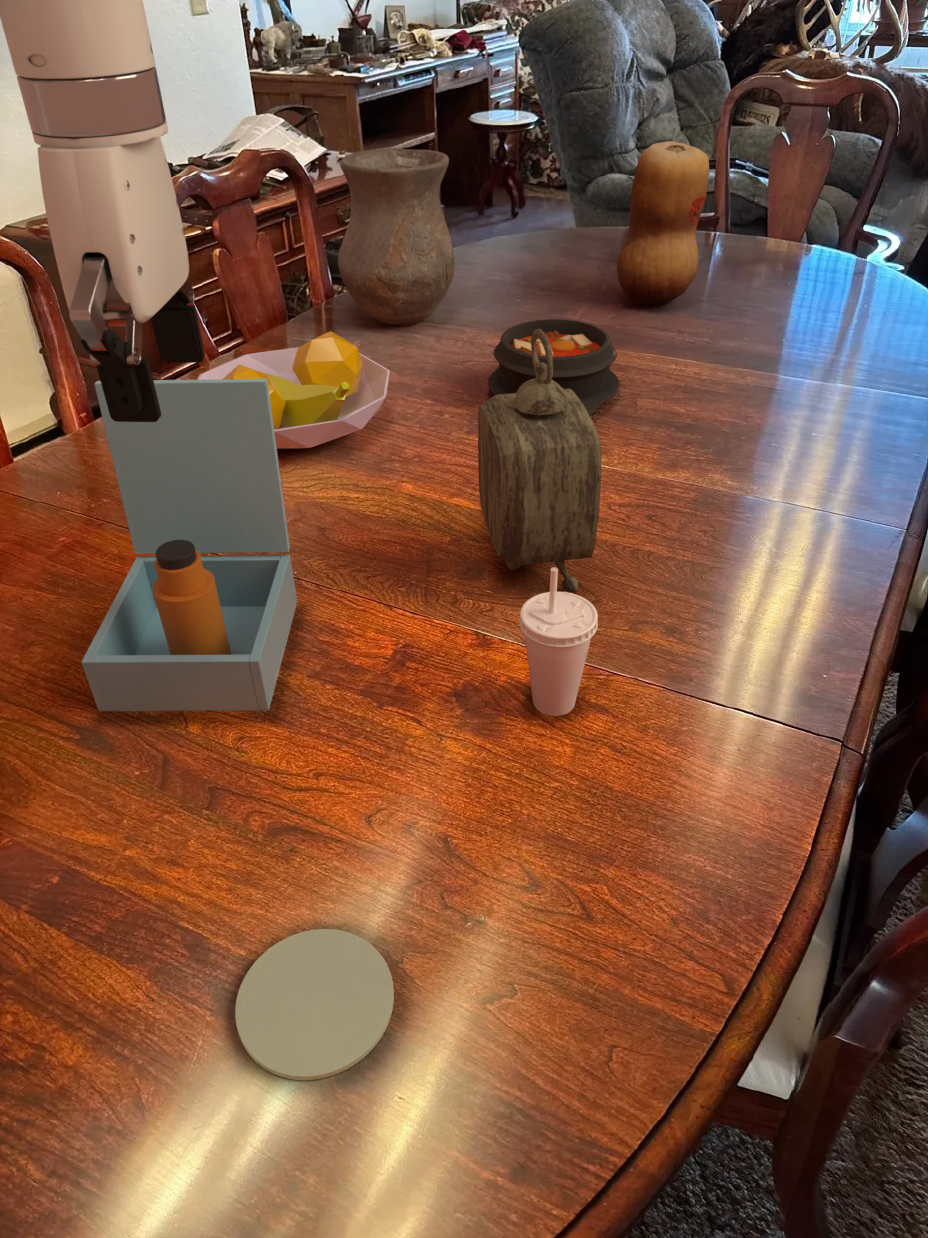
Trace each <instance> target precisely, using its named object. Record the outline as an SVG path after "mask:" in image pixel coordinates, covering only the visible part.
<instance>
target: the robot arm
mask: <svg viewBox="0 0 928 1238" xmlns="http://www.w3.org/2000/svg"><path fill="white" fill-rule="evenodd" d="M0 22H1V26H2V29H3V32H4V36H5V40H6V44H7V48H8V51H9V55H10V58H11V63H12V66H13V69H14V73H15V75H16V80H17V84H18V87H19V91H20V95H21V98H22V103H23V105H24V110H25V113H26V116H27V120H28V124H29V127H30V130H31V134H32V137H33V142H34V143H35V144H36V145H38V147H37V158H38V168H39V177H40V184H41V191H42V198H43V203H44V204H43V205H44V210H45V215H46V221H47V226H48V230H49V234H50V239H51V244H52V248H53V253H54V257H55V261H56V265H57V270H58V274H59V278H60V282H61V286H62V290H63V294H64V298H65V301H66V305H67V308H68V313H69V319H70V321H71V324H72V325H73V327H74V328H75V330H76V331H77V333H78V335H79V336H80V338H81V339H80V343H81V345H82V346H83V349H84V350H85V351H86V352H87V353H88V354H89V360H90V362H91V364H92V365H93V366H95V367H96V371H97V374H98V377H99V381H101V385H102V388H103V392H104V396H105V399H106V403H107V407H108V410H109V414H110V417H111V419H112V420H114V421H116V422H157V421H158V420H159V418H160V417H161V410H160V406H159V402H158V398H157V393H156V389H155V385H154V381H153V380H154V376H153V373H152V369H151V365H150V360H149V359H148V358H146V359H145V358H142V350H143V324H144V323H146V322H148V321H149V320H150V321H151V325H152V329H153V334H154V338H155V342H156V348H157V352H158V355H159V359H160V360H161V361H162V362H163V363H173V364H175V363H176V364H177V363H178V364H179V363H181V364H182V363H183V364H184V363H187V364H189V363H190V364H192V363H195V364H196V363H197V364H200V363H202V362H203V361H204V360H205V358H206V353H205V348H204V343H203V338H202V334H201V328H200V323H199V318H198V314H197V313H198V312H197V309H196V305H193V304H194V303H195V295H196V294H195V289H194V287H193V286H192V284H191V282H190V281H189V277H190V271H191V267H190V266H191V263H190V261H189V253H188V246H187V241H186V233H185V229H184V225H183V220H182V217H181V212H180V208H179V203H178V198H177V195H176V191H175V186H174V183H173V178H172V174H171V170H170V167H169V163H168V160H167V156H166V153H165V148H164V145H163V142H162V139H161V137H164V136H165V135H167V134H168V133H169V127H168V123H167V118H166V112H165V107H164V102H163V97H162V91H161V86H160V80H159V77H158V71H157V67H156V60H155V55H154V51H153V45H152V40H151V35H150V30H149V24H148V20H147V15H146V10H145V5H144V0H0ZM107 307H108V308H128V310H127V309H125V310H124V309H123V310H122V309H119V310H118V309H116V310H115V309H111V310H109V309H107ZM109 327H125V340H124V339H123V338H122V337H121V336H120V335H119V334H118V333H117V332H116V331H115V330H113V329H109Z"/></svg>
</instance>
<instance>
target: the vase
mask: <svg viewBox="0 0 928 1238" xmlns="http://www.w3.org/2000/svg"><path fill="white" fill-rule="evenodd" d="M449 163H450V158H449V156H448V155H447V154H446V153H445V152H440V151H437V150H430V149H411V148H409V149H406V148H399V147H398V148H394V147H380V148H373V149H365V150H358V151H354V152H351V153H348V154H346V155H345V156H343V157H342V159H341V160H340V161H339V165H340V169H341V171H342V173H343V175H344V177H345V180H346V182H347V186H348V188H349V193H350V201H351V203H350V204H351V209H350V217H349V221H348V225H347V228H346V231H345V234H344V236H343V239H342V243H341V245H340V248H339V251H338V255H337V267H338V272H339V274H340V278H341V281H342V283H343V285H344V287H345V289H346V291H347V292H348V294H349V295H350V297H351V298H352V299H353V301H355V303H356V304H357V306H359V307H360V309H362V310H363V311H364V312H365V313H366V314H367V315H369V316H370V317H371V318H373V319H374V320H375V321H377V322H380V323H382V324H385V325H390V326H409V325H414V324H417V323H419V322H421V321H424V320H425V319H427V318H428V317H429V316H430V315H431V314H432V313H434V312H435V310H437V308H438V307H439V305H440V304H441V302H442V301H443V300H444V299H445V297H446V296H447V294H448V293H449V290H450V287H451V285H452V282H453V279H454V275H455V269H456V268H455V267H456V261H455V259H456V258H455V251H454V246H453V241H452V238H451V234H450V231H449V228H448V224H447V222H446V219H445V215H444V211H443V208H442V203H441V199H440V190H441V184H442V182H443V179H444V177H445V174H446V172H447V170H448V167H449Z"/></svg>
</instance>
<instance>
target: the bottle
mask: <svg viewBox="0 0 928 1238" xmlns="http://www.w3.org/2000/svg"><path fill="white" fill-rule="evenodd" d="M155 556H156V557H157V558H156V560H155V568H156V572H157V575H158V579H157V580H156V581H155V583H154V585H153V593H154V597H155V601H156V604H157V608H158V611H159V615H160V619H161V622H162V626H163V629H164V633H165V637H166V640H167V644H168V647H169V651H170V655H231V651H230V646H229V642H228V637H227V633H226V629H225V624H224V620H223V615H222V611H221V606H220V602H219V598H218V593H217V589H216V584H215V580H214V576H213V575H212V573H211V572H210V571H208V570H206V569H203V565H202V560H201V556H202V555H201V553H199V552H198V551H196V550H195V546H194V545H193V543H191V542H190V541H187V540H173V541H169V542H166V543H164V544H162V545H161V546H159V547H158V548H157V550H156V553H155Z"/></svg>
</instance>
